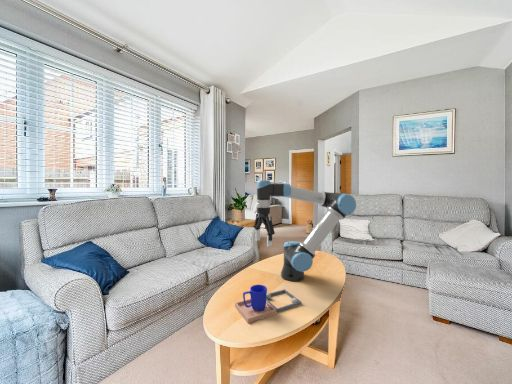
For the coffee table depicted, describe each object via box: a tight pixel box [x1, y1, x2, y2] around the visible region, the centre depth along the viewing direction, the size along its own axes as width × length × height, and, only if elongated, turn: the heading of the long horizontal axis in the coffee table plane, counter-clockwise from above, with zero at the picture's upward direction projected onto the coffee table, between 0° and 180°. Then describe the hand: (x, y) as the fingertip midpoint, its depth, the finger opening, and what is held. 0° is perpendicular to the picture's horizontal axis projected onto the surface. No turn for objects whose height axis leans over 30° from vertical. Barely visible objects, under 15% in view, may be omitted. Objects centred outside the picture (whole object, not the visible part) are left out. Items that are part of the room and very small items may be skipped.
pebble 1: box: [266, 292, 272, 300], centre depth 123 cm, size 3×3×3 cm
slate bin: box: [266, 288, 302, 313], centre depth 121 cm, size 15×15×1 cm
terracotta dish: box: [234, 297, 277, 324], centre depth 112 cm, size 15×15×2 cm
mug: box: [242, 284, 268, 311], centre depth 112 cm, size 8×12×10 cm
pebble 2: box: [291, 297, 298, 304], centre depth 118 cm, size 3×3×3 cm
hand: (263, 243), depth 134 cm, fingers open, 13 cm apart
